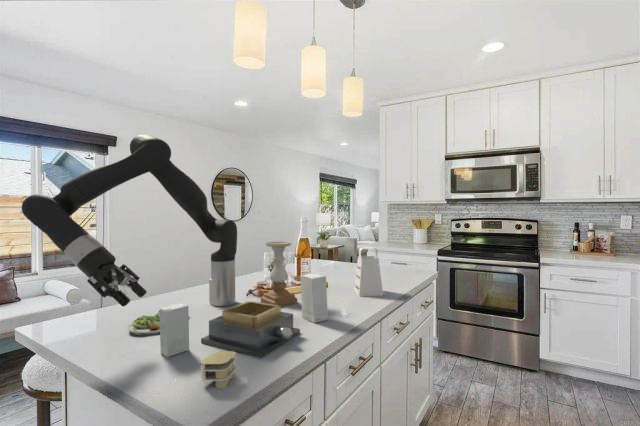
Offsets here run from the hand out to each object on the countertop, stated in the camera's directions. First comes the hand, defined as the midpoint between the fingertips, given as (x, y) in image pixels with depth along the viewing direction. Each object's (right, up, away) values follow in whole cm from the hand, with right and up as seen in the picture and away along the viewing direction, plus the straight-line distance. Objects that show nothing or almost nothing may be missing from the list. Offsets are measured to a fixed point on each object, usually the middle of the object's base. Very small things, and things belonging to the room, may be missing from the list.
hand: (136, 299), depth 88 cm
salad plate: (-4, -14, +21) cm, 26 cm away
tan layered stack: (+26, -15, -14) cm, 33 cm away
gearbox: (+30, -14, +10) cm, 34 cm away
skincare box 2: (+46, -14, +27) cm, 55 cm away
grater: (+69, -13, +61) cm, 93 cm away
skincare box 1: (+10, -14, +1) cm, 17 cm away
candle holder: (+32, -13, +47) cm, 58 cm away
